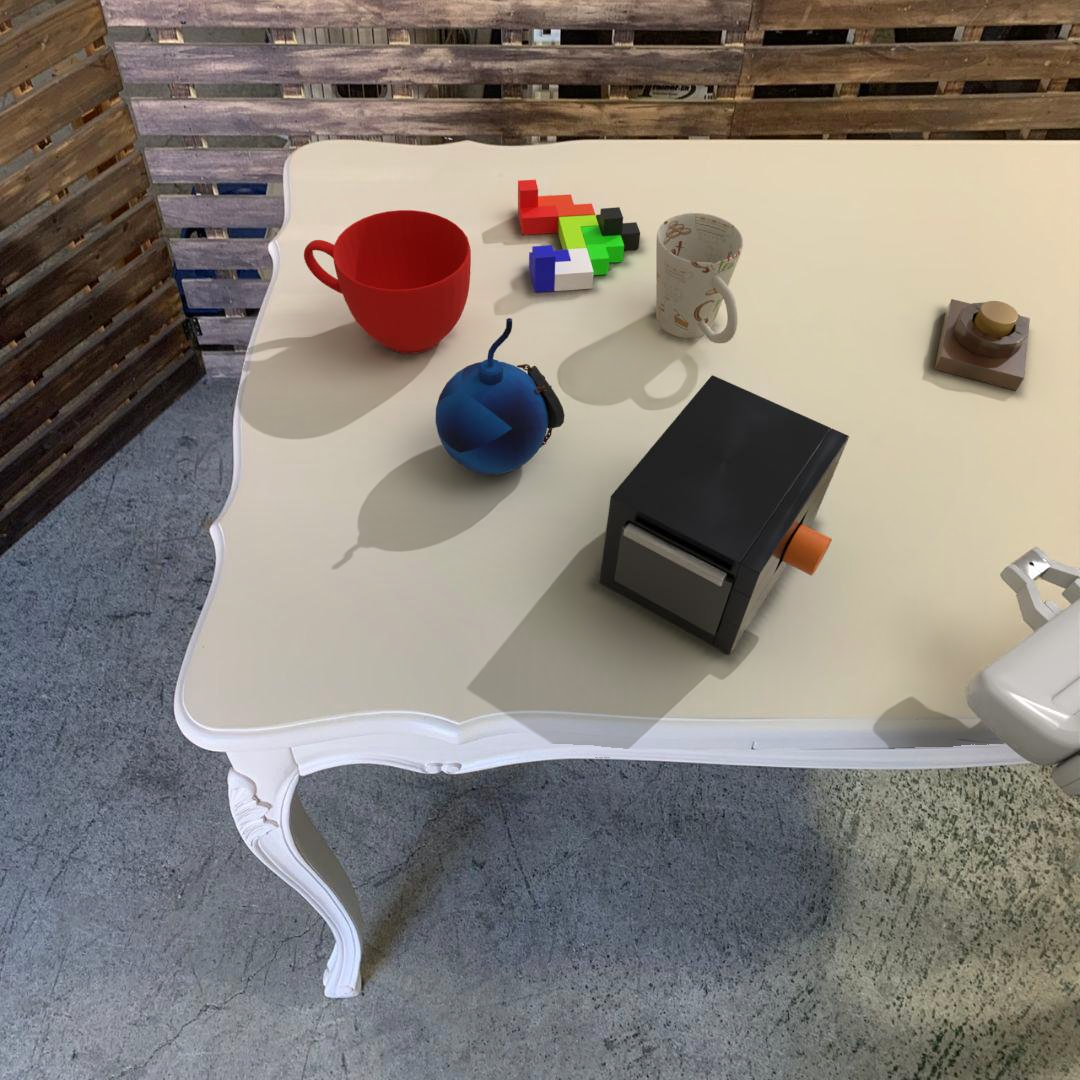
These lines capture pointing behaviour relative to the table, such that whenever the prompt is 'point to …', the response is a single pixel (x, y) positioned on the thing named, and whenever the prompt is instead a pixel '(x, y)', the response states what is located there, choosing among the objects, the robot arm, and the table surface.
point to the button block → (981, 348)
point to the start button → (996, 318)
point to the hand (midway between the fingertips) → (1017, 560)
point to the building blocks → (572, 239)
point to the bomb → (496, 414)
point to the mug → (696, 275)
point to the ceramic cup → (400, 276)
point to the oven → (717, 510)
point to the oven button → (806, 549)
